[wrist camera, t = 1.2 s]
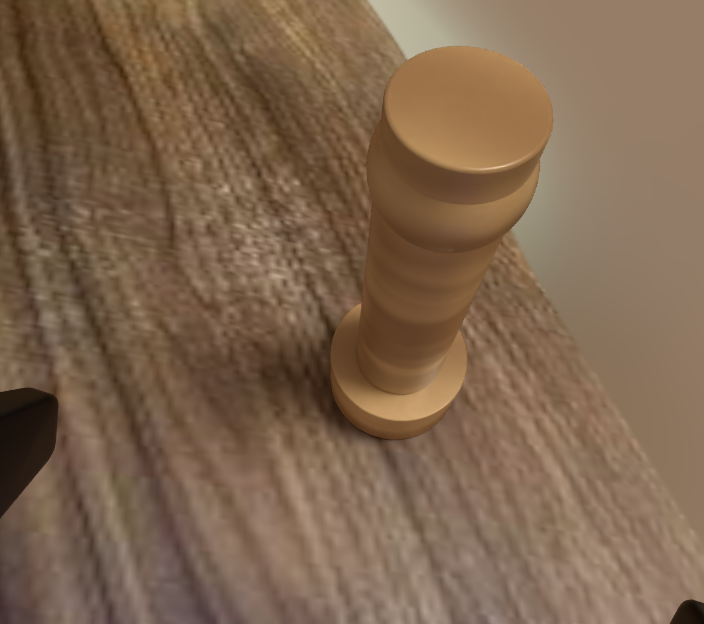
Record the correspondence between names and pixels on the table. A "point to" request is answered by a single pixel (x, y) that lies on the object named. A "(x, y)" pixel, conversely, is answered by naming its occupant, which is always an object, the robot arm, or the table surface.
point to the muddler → (435, 229)
